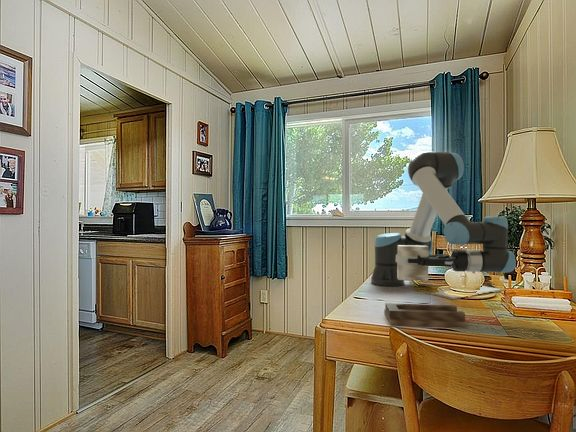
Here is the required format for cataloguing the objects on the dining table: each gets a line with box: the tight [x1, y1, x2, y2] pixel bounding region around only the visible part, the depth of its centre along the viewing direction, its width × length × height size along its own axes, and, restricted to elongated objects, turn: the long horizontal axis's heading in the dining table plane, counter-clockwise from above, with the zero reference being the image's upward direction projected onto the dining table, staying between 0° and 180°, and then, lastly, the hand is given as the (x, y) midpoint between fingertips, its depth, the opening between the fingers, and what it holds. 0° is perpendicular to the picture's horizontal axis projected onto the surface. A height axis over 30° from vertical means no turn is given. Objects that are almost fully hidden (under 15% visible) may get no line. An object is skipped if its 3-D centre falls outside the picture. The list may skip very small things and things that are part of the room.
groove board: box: [383, 302, 469, 329], centre depth 118 cm, size 22×14×4 cm, turn 83°
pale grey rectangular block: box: [397, 245, 429, 282], centre depth 133 cm, size 10×4×12 cm, turn 83°
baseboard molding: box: [430, 283, 502, 300], centre depth 157 cm, size 31×3×12 cm
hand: (397, 259), depth 134 cm, fingers closed on pale grey rectangular block, 3 cm apart
